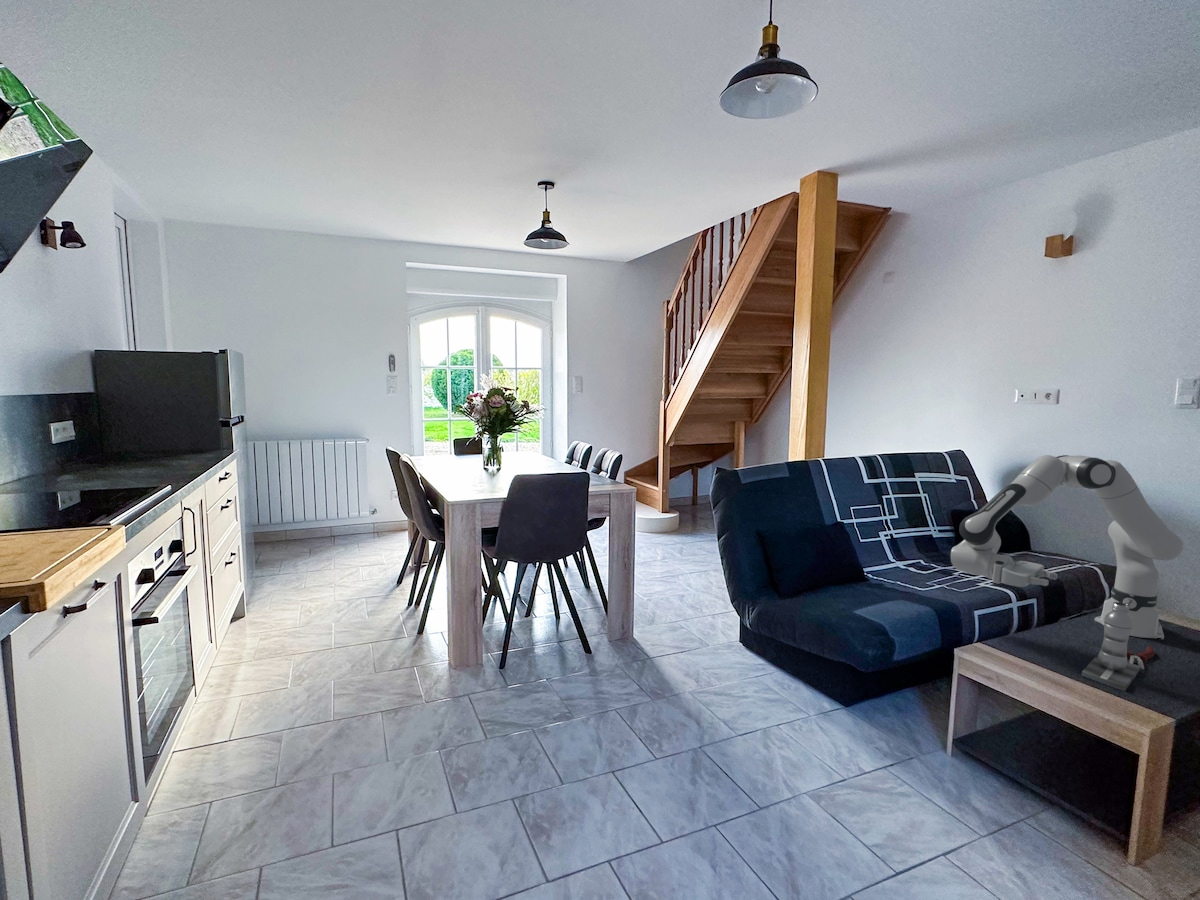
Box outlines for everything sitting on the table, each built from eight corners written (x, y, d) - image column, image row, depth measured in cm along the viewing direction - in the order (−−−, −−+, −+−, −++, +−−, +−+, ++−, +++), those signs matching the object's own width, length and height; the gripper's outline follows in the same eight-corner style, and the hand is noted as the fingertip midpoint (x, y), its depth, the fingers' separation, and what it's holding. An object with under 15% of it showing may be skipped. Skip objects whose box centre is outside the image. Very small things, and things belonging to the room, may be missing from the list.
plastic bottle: (1119, 675, 175) (1130, 610, 173) (1092, 665, 181) (1102, 601, 179) (1130, 671, 178) (1141, 607, 176) (1103, 661, 184) (1113, 598, 182)
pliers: (1112, 665, 186) (1114, 657, 186) (1106, 643, 203) (1107, 635, 202) (1162, 677, 180) (1164, 669, 180) (1151, 653, 196) (1153, 646, 196)
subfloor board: (1097, 657, 190) (1098, 652, 190) (1139, 670, 183) (1140, 665, 182) (1081, 676, 178) (1081, 671, 177) (1125, 691, 170) (1126, 685, 170)
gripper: (1012, 571, 210) (1060, 582, 200) (991, 583, 197) (1041, 596, 187) (1014, 553, 209) (1062, 564, 199) (993, 565, 196) (1044, 577, 186)
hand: (1052, 580), depth 193 cm, fingers open, 8 cm apart
